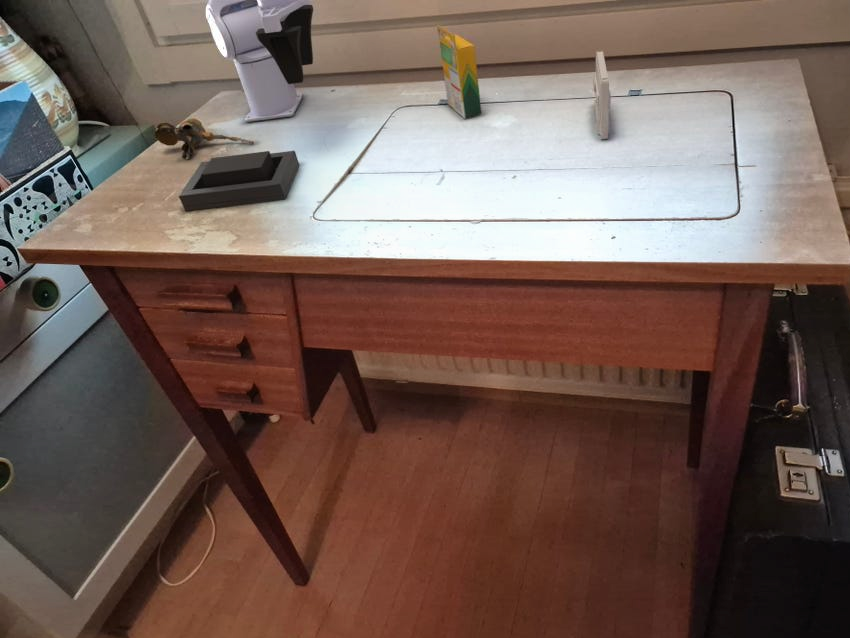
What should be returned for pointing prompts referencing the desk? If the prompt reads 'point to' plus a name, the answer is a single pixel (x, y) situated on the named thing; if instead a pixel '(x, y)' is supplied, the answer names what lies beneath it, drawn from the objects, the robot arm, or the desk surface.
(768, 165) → the desk surface
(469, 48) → the crayon box
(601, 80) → the cassette
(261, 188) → the dark grey rectangular tray
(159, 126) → the regulator
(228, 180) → the dark grey block
